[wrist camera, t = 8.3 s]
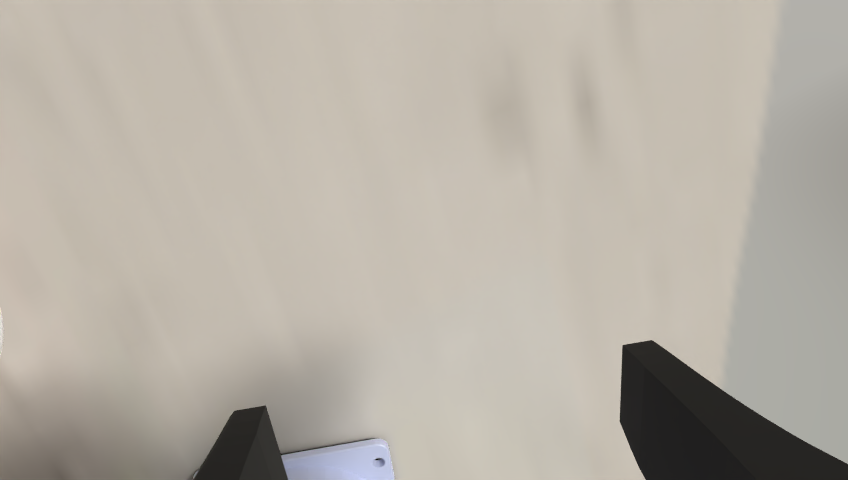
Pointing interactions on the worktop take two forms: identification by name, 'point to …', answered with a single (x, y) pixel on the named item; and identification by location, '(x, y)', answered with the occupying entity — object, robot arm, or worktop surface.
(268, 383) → the worktop surface
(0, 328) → the white round dish
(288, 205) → the worktop surface
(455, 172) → the worktop surface
